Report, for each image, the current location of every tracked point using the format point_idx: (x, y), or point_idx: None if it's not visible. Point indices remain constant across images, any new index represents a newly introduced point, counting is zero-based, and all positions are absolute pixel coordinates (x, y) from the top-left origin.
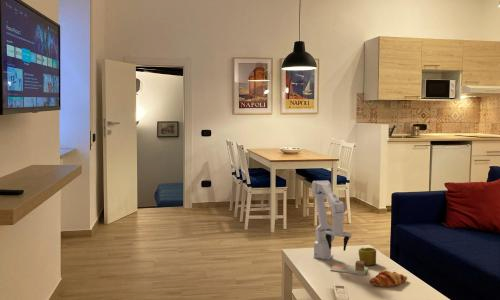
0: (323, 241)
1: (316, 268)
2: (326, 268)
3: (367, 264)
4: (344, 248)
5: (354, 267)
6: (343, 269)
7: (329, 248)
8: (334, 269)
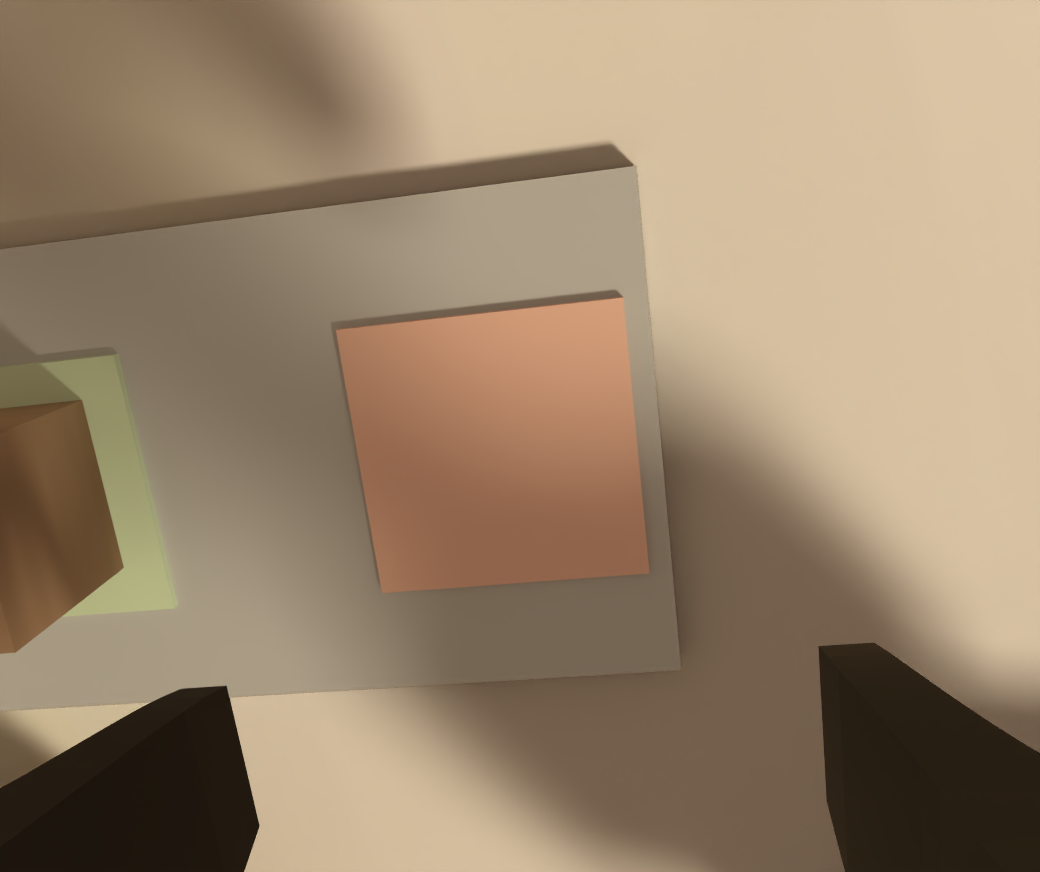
0: None
1: (1033, 145)
2: (777, 281)
3: None
4: (122, 730)
5: (185, 587)
6: (340, 329)
7: (874, 649)
8: (541, 230)
